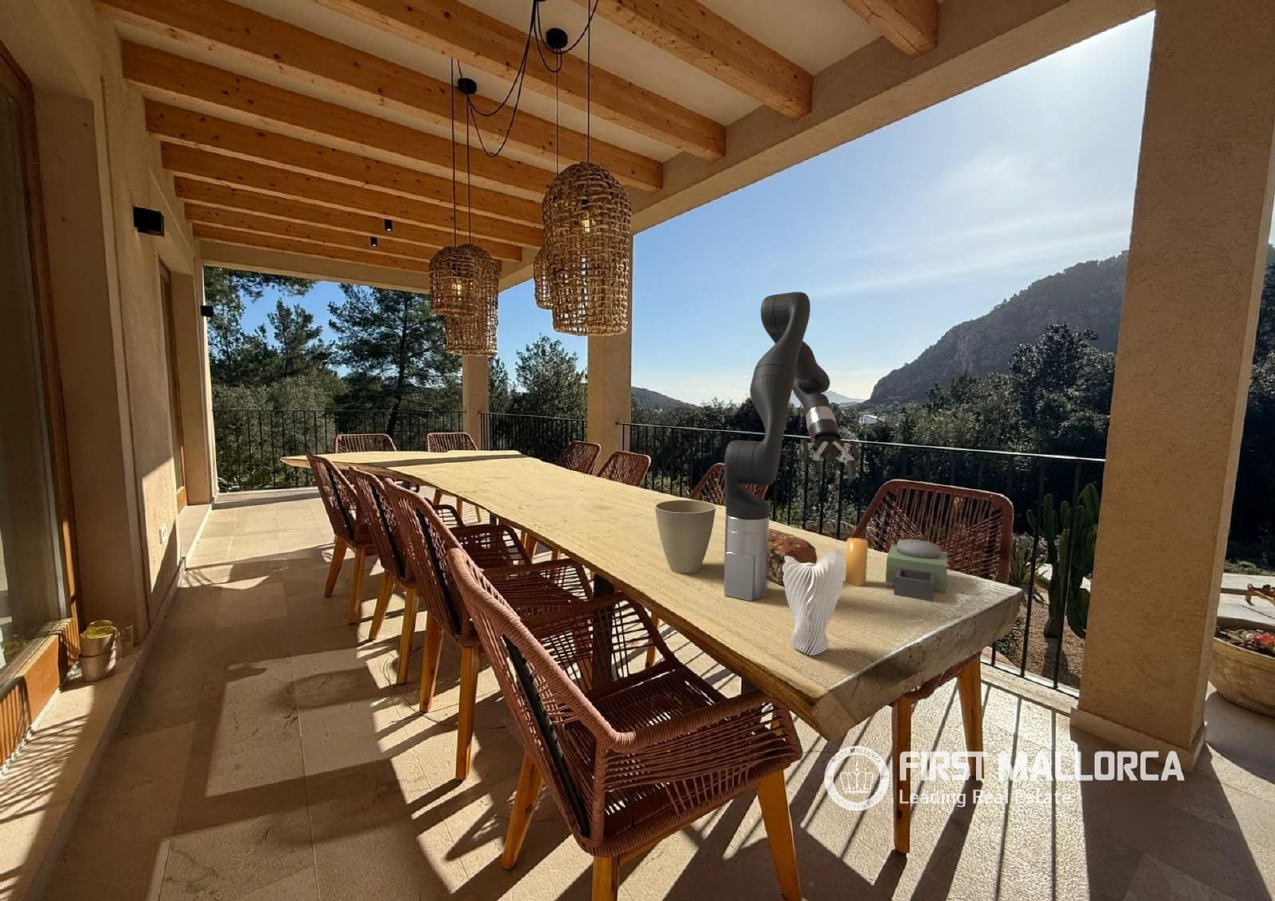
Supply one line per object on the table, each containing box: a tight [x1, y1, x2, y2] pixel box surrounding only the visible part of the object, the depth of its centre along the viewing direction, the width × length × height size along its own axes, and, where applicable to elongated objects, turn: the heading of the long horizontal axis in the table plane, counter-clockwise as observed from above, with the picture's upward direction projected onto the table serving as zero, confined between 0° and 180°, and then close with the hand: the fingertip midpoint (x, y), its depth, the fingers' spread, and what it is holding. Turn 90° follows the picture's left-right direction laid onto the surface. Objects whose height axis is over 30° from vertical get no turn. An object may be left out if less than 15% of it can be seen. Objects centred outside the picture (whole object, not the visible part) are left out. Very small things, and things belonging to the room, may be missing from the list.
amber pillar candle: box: [844, 537, 869, 587], centre depth 120 cm, size 4×4×10 cm
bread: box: [767, 528, 818, 586], centre depth 128 cm, size 19×11×10 cm, turn 19°
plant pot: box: [654, 499, 717, 574], centre depth 129 cm, size 15×15×16 cm
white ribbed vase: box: [782, 548, 846, 656], centre depth 88 cm, size 8×8×18 cm
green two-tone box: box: [885, 539, 948, 602], centre depth 120 cm, size 19×12×8 cm, turn 150°
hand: (835, 475), depth 132 cm, fingers open, 8 cm apart
